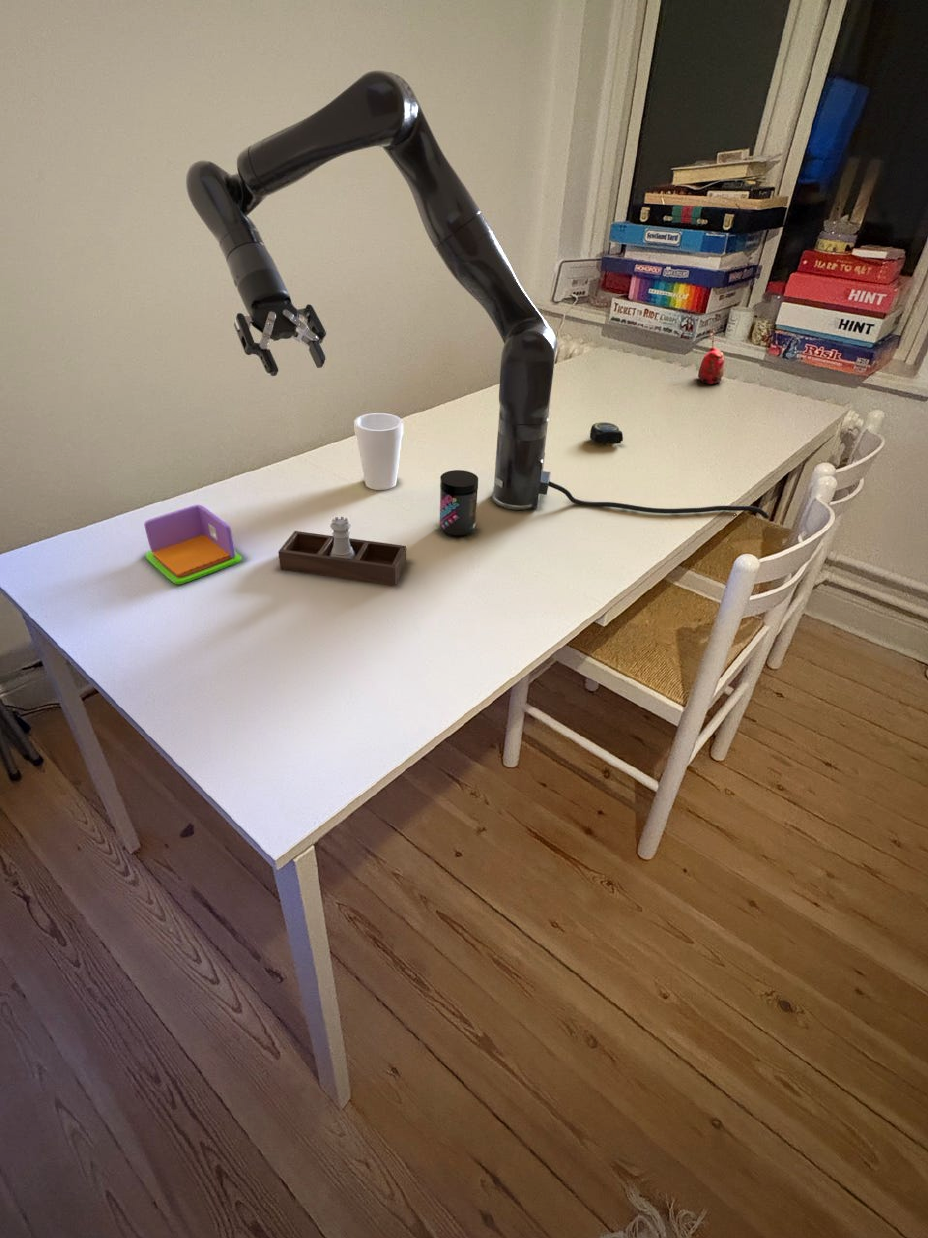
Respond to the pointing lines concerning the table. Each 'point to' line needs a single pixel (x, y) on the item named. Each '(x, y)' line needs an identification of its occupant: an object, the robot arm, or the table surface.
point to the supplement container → (458, 503)
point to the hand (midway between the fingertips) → (298, 369)
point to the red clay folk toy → (712, 365)
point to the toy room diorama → (190, 544)
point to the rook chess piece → (341, 539)
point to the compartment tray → (368, 565)
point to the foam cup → (379, 448)
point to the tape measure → (605, 433)
